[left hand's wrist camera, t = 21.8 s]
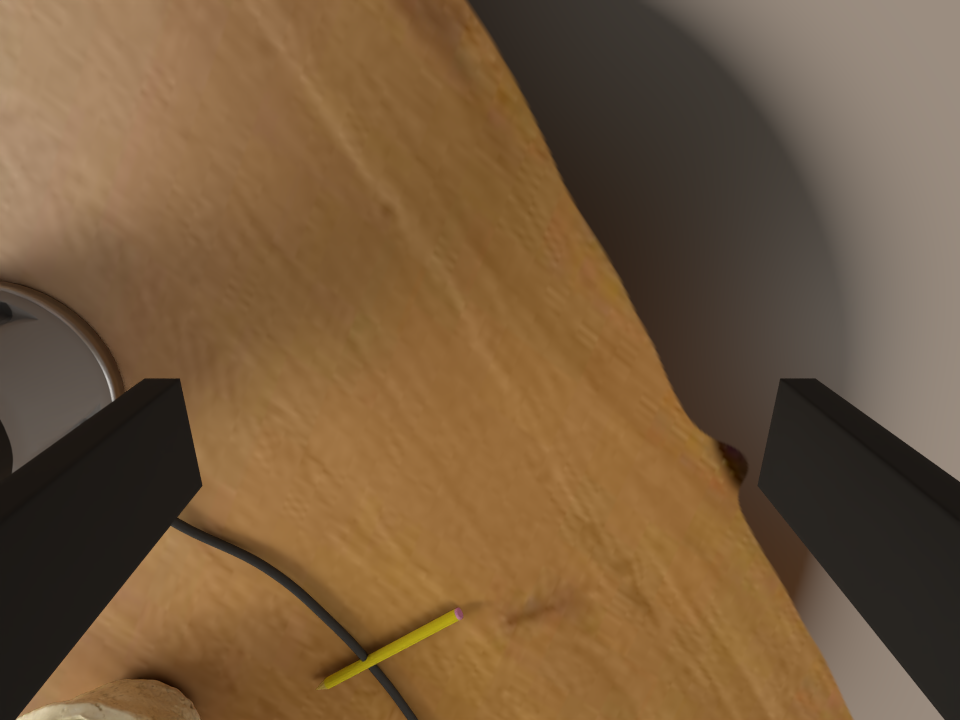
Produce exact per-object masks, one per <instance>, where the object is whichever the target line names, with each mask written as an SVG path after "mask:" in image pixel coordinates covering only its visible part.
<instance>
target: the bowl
mask: <svg viewBox="0 0 960 720" xmlns="http://www.w3.org/2000/svg"><path fill="white" fill-rule="evenodd" d="M16 720H201V719H200V715H199V714H198V712H197V710H196V708H195V707H194V704H193V703H192V701H190V699H187V698H186V697H185V696H184V695H183V693H181V692H180V691H179V690H178V689H177V688H174V687H171V686H169V685H167V684H164V683H162V682H160V681H157V680H144V679H139V680H130V679H123V680H119V681H115V682H111V683H108V684H105V685H103V686H101V687H99V688H97V689H95V690H92V691H90V692H86V693H84V694H81V695H79V696H77V697H75V698H74V699H72V700H70V701H63V702H56V703H51V704H49V705H45V706H43V707H40V708H38V709H35V710H34V711H32V712H29V713H27V714H25V715H23V716H21V717H19V718H18V719H16Z"/></svg>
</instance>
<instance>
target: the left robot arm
mask: <svg viewBox="0 0 960 720" xmlns="http://www.w3.org/2000/svg"><path fill="white" fill-rule="evenodd" d="M201 487H202V481H201V477H200V472H199V467H198V462H197V458H196V453H195V448H194V444H193V439H192V434H191V429H190V425H189V420H188V415H187V411H186V406H185V401H184V396H183V392H182V387H181V382H180V379H143V380H142V381H141V382H139V383H138V384H136V385H135V386H134V387H132V388H131V389H129V390H128V391H127V392H125V393H124V387H123V382H122V378H121V375H120V372H119V370H118V367H117V365H116V362H115V361H114V359H113V357H112V355H111V353H110V351H109V350H108V348H107V347H106V345H105V344H104V342H103V341H102V340H101V338H100V337H99V336H98V335H97V334H96V332H95V331H94V330H93V329H92V328H91V327H90V326H89V325H88V324H87V323H86V322H85V321H84V320H83V319H82V318H80V317H79V316H78V315H77V314H76V313H74V312H73V311H72V310H70V309H69V308H68V307H66V306H65V305H63V304H62V303H60V302H58V301H57V300H55V299H53V298H51V297H49V296H47V295H45V294H43V293H41V292H39V291H36V290H34V289H31V288H28V287H25V286H22V285H18V284H14V283H10V282H3V281H0V720H15V719H16V718H17V717H18V716H19V714H20V713H21V712H22V711H23V709H24V708H25V707H26V706H27V704H28V703H29V702H30V701H31V699H32V698H33V697H34V696H35V694H36V693H37V692H38V691H39V689H40V688H41V687H42V686H43V684H44V683H45V682H46V681H47V679H48V678H49V677H50V676H51V674H52V673H53V672H54V671H55V669H56V668H57V667H58V666H59V664H60V663H61V662H62V661H63V659H64V658H65V657H66V656H67V654H68V653H69V652H70V651H71V649H72V648H73V647H74V646H75V644H76V643H77V642H78V641H79V639H80V638H81V637H82V636H83V634H84V633H85V632H86V631H87V629H88V628H89V627H90V626H91V624H92V623H93V622H94V621H95V619H96V618H97V617H98V616H99V614H100V613H101V612H102V611H103V609H104V608H105V607H106V606H107V604H108V603H109V602H110V601H111V599H112V598H113V597H114V596H115V594H116V593H117V592H118V591H119V589H120V588H121V587H122V586H123V584H124V583H125V582H126V581H127V579H128V578H129V577H130V576H131V574H132V573H133V572H134V571H135V569H136V568H137V567H138V566H139V564H140V563H141V562H142V561H143V559H144V558H145V557H146V556H147V554H148V553H149V552H150V551H151V549H152V548H153V547H154V546H155V544H156V543H157V542H158V541H159V539H160V538H161V537H162V536H163V534H164V533H165V532H166V531H167V529H168V528H169V527H170V526H172V527H174V528H176V529H178V530H179V531H181V532H183V533H185V534H187V535H189V536H191V537H193V538H195V539H197V540H199V541H202V542H204V543H206V544H208V545H211V546H213V547H215V548H218V549H220V550H222V551H224V552H227V553H229V554H231V555H233V556H235V557H237V558H239V559H242V560H243V561H245V562H247V563H249V564H251V565H253V566H254V567H256V568H258V569H259V570H261V571H263V572H264V573H266V574H267V575H269V576H270V577H272V578H273V579H275V580H276V581H277V582H279V583H280V584H282V585H283V586H284V587H285V588H287V589H288V590H289V591H291V592H292V593H293V594H294V595H295V596H297V597H298V598H299V599H300V600H301V601H302V602H303V603H304V604H305V605H307V606H308V607H309V608H310V609H311V610H312V611H313V612H314V613H315V614H316V615H317V616H318V617H319V618H320V619H321V620H322V621H323V622H325V623H326V624H327V625H328V626H329V627H330V628H331V629H332V630H333V631H334V632H335V633H336V634H337V635H338V636H339V637H340V638H341V639H342V640H343V641H344V642H345V643H346V644H347V645H348V646H349V647H350V648H351V649H352V651H353V652H354V653H355V654H356V655H357V656H358V657H359V658H360V659H361V661H362V662H364V661H365V660H366V659H367V657H368V654H367V653H366V652H365V651H364V649H363V648H362V647H361V646H360V645H359V644H358V643H357V642H356V641H355V639H354V638H353V637H352V636H351V635H350V634H349V633H348V632H347V631H346V630H345V629H344V628H343V627H342V626H341V625H340V624H339V623H338V622H337V621H336V620H335V619H334V618H333V617H332V616H331V615H330V614H329V613H328V612H326V611H325V610H324V609H323V608H322V607H321V606H320V605H319V604H318V603H317V602H316V601H315V600H314V599H313V598H312V597H311V596H310V595H309V594H307V593H306V592H305V591H304V590H303V589H302V588H301V587H300V586H298V585H297V584H296V583H295V582H293V581H292V580H291V579H290V578H288V577H287V576H286V575H284V574H283V573H282V572H280V571H279V570H277V569H276V568H274V567H273V566H271V565H270V564H268V563H267V562H265V561H264V560H262V559H260V558H258V557H257V556H255V555H253V554H251V553H249V552H247V551H245V550H243V549H241V548H239V547H237V546H235V545H233V544H231V543H228V542H226V541H224V540H221V539H219V538H217V537H215V536H212V535H210V534H208V533H206V532H204V531H202V530H199V529H197V528H195V527H193V526H191V525H189V524H188V523H186V522H184V521H182V520H180V519H179V518H177V517H178V516H179V514H180V513H181V512H182V511H183V509H184V508H185V507H186V506H187V504H188V503H189V502H190V501H191V499H192V498H193V497H194V496H195V494H196V493H197V492H198V491H199V489H200V488H201ZM758 487H759V488H760V489H761V490H762V492H763V493H764V494H765V496H766V497H767V498H768V499H769V501H770V502H771V503H772V504H773V506H774V507H775V508H776V509H777V511H778V512H779V513H780V514H781V516H782V517H783V518H784V519H785V521H786V522H787V523H788V524H789V526H790V527H791V528H792V529H793V531H794V532H795V533H796V534H797V536H798V537H799V538H800V539H801V541H802V542H803V543H804V544H805V546H806V547H807V548H808V549H809V551H810V552H811V553H812V554H813V556H814V557H815V558H816V559H817V561H818V562H819V563H820V564H821V566H822V567H823V568H824V569H825V571H826V572H827V573H828V574H829V576H830V577H831V578H832V579H833V581H834V582H835V583H836V584H837V586H838V587H839V588H840V589H841V591H842V592H843V593H844V594H845V596H846V597H847V598H848V599H849V601H850V602H851V603H852V604H853V606H854V607H855V608H856V609H857V611H858V612H859V613H860V614H861V616H862V617H863V618H864V619H865V621H866V622H867V623H868V624H869V626H870V627H871V628H872V629H873V631H874V632H875V633H876V634H877V636H878V637H879V638H880V639H881V641H882V642H883V643H884V644H885V646H886V647H887V648H888V649H889V651H890V652H891V653H892V654H893V656H894V657H895V658H896V659H897V661H898V662H899V663H900V664H901V666H902V667H903V668H904V669H905V671H906V672H907V673H908V674H909V676H910V677H911V678H912V679H913V681H914V682H915V683H916V684H917V686H918V687H919V688H920V689H921V691H922V692H923V693H924V694H925V696H926V697H927V698H928V699H929V701H930V702H931V703H932V704H933V706H934V707H935V708H936V709H937V711H938V712H939V713H940V714H941V716H942V717H943V718H944V719H945V720H960V482H959V481H958V480H956V479H955V478H954V477H952V476H951V475H949V474H948V473H947V472H945V471H944V470H942V469H941V468H940V467H938V466H937V465H935V464H934V463H933V462H931V461H930V460H928V459H927V458H926V457H924V456H923V455H921V454H920V453H919V452H917V451H916V450H914V449H913V448H912V447H910V446H909V445H908V444H906V443H905V442H903V441H902V440H901V439H899V438H898V437H896V436H895V435H894V434H892V433H891V432H889V431H888V430H887V429H885V428H884V427H882V426H881V425H880V424H878V423H877V422H875V421H874V420H873V419H871V418H870V417H868V416H867V415H866V414H864V413H863V412H861V411H860V410H859V409H857V408H856V407H854V406H853V405H852V404H850V403H849V402H847V401H846V400H845V399H843V398H842V397H840V396H839V395H838V394H836V393H835V392H833V391H832V390H831V389H829V388H828V387H826V386H825V385H824V384H822V383H821V382H819V381H818V380H817V379H780V382H779V387H778V392H777V397H776V402H775V406H774V411H773V415H772V420H771V425H770V429H769V434H768V439H767V444H766V448H765V453H764V458H763V462H762V467H761V472H760V477H759V481H758ZM368 669H369V670H370V671H371V672H372V674H373V675H374V676H375V677H376V678H377V680H378V681H379V682H380V683H381V684H382V686H383V687H384V688H385V689H386V691H387V692H388V693H389V695H390V696H391V697H392V699H393V700H394V701H395V703H396V704H397V705H398V707H399V708H400V710H401V711H402V712H403V714H404V715H405V717H406V718H407V719H408V720H418V719H417V718H416V716H415V715H414V713H413V712H412V711H411V709H410V708H409V706H408V705H407V703H406V702H405V701H404V699H403V698H402V696H401V695H400V694H399V692H398V691H397V690H396V688H395V687H394V686H393V684H392V683H391V682H390V681H389V679H388V678H387V677H386V676H385V674H384V673H383V672H382V671H381V670H380V668H379V667H378V666H377V665H376V664H375V665H373V666H371V667H369V668H368Z"/></svg>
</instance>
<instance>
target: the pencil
mask: <svg viewBox="0 0 960 720" xmlns="http://www.w3.org/2000/svg"><path fill="white" fill-rule="evenodd" d="M462 618H463V613H462V611H461V609H460V608H456V609H454V610H452V611H450V612H448V613H446V614H444V615H442V616H441V617H439V618H437V619H435V620H433V621H431V622H429V623H427V624H426V625H424V626H422V627H420V628H418V629H416V630H414V631H412V632H411V633H409V634H407V635H405V636H403V637H401V638H399V639H397V640H396V641H394V642H392V643H390V644H388V645H386V646H384V647H382V648H381V649H379V650H377V651H375V652H373V653H371V654H369V655H368V657H367V659H366V660H365V661H364V662H362V661H361V659H360V660H358V661H356V662H354V663H353V664H351V665H349V666H347V667H345V668H343V669H341V670H339V671H338V672H336V673H334V674H332V675H330V676H328V677H326V678H325V679H324V681H323V682H322V683H321V684H320V685H319V686H318V687H317V688H316V690H319V689H329V688H331V687H333V686H335V685H337V684H339V683H341V682H343V681H345V680H347V679H349V678H350V677H352V676H354V675H356V674H358V673H360V672H362V671H364V670H366V669H368V668H369V667H371V666H373V665H375V664H377V663H379V662H381V661H383V660H385V659H386V658H388V657H390V656H392V655H394V654H396V653H398V652H400V651H402V650H404V649H405V648H407V647H409V646H411V645H413V644H415V643H417V642H419V641H421V640H423V639H424V638H426V637H428V636H430V635H432V634H434V633H436V632H438V631H440V630H442V629H443V628H445V627H447V626H449V625H451V624H453V623H455V622H457V621H459V620H461V619H462Z"/></svg>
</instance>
